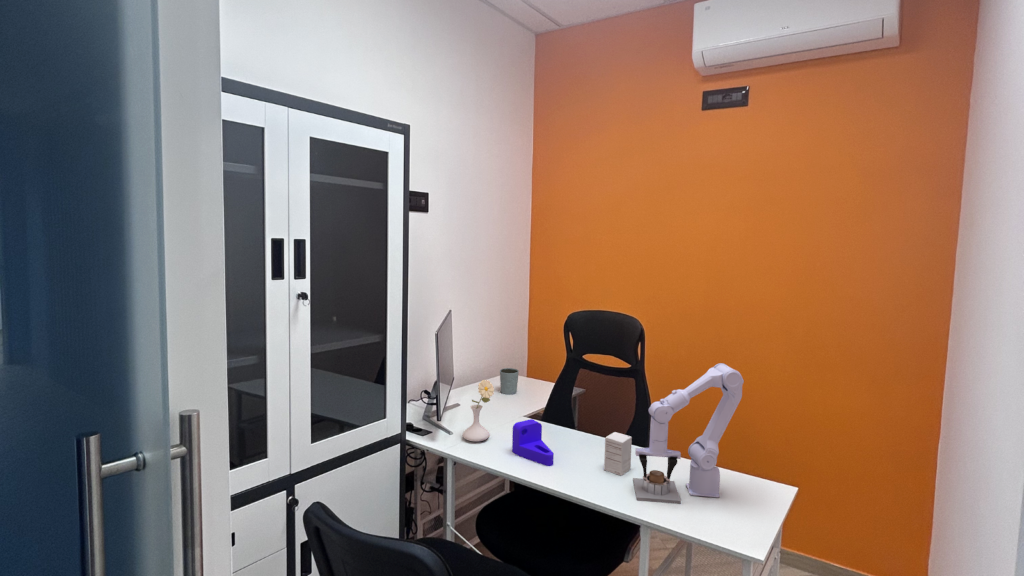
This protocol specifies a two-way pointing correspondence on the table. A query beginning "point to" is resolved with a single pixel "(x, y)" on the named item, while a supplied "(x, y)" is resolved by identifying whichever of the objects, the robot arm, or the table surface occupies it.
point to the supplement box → (617, 453)
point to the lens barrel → (656, 486)
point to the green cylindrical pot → (508, 381)
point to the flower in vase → (476, 430)
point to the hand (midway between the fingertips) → (656, 477)
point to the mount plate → (645, 496)
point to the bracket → (531, 442)
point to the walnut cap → (656, 476)
